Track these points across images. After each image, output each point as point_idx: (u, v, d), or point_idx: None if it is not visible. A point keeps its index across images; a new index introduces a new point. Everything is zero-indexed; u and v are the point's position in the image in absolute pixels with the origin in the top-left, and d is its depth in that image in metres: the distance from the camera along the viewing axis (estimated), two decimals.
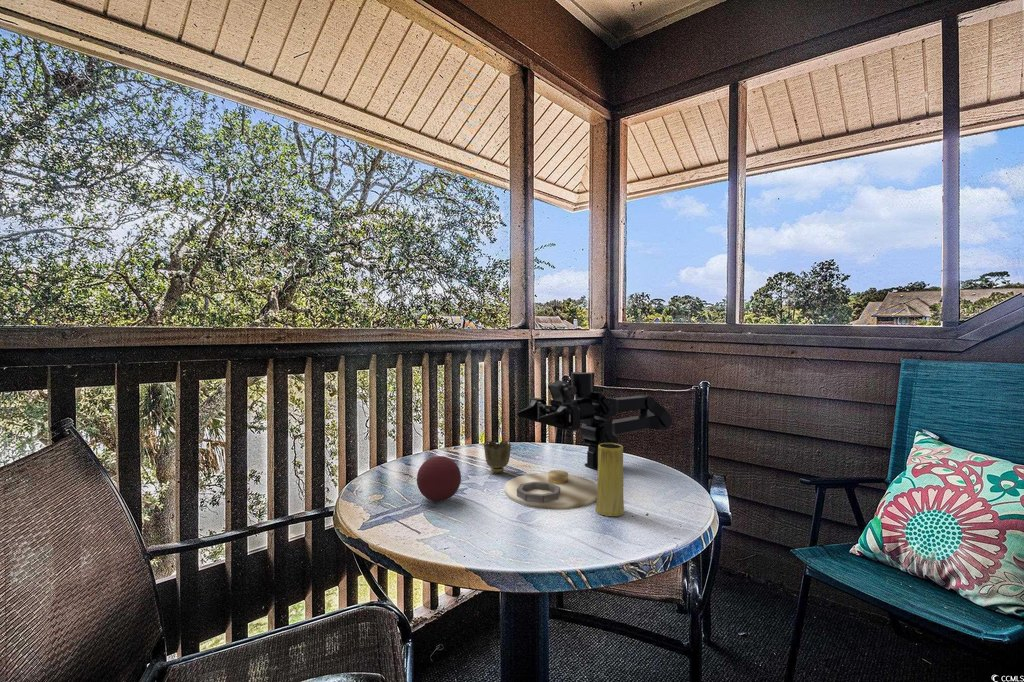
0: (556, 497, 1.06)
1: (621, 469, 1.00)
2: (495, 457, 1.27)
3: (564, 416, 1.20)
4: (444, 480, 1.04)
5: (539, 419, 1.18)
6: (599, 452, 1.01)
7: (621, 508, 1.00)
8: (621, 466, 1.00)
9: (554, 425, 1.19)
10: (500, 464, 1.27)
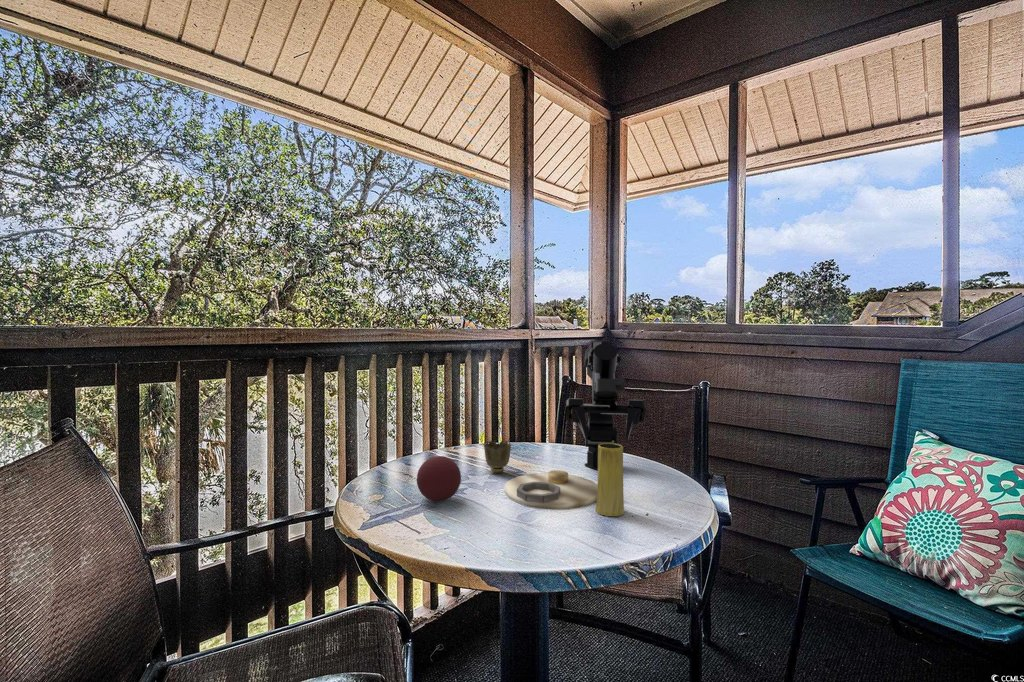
0: (556, 497, 1.06)
1: (621, 469, 1.00)
2: (495, 457, 1.27)
3: (635, 416, 1.13)
4: (444, 480, 1.04)
5: None
6: (599, 452, 1.01)
7: (621, 508, 1.00)
8: (621, 466, 1.00)
9: (631, 429, 1.13)
10: (500, 464, 1.27)
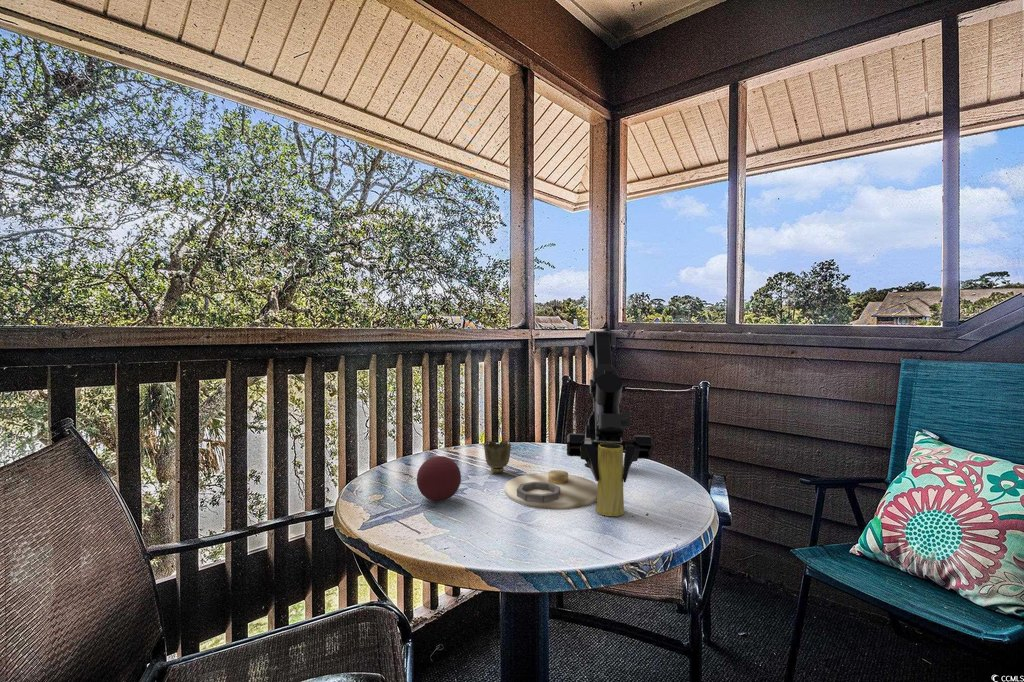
0: (556, 497, 1.06)
1: (621, 469, 1.00)
2: (495, 457, 1.27)
3: (633, 453, 1.04)
4: (444, 480, 1.04)
5: None
6: (599, 452, 1.01)
7: (621, 508, 1.00)
8: (621, 466, 1.00)
9: None
10: (500, 464, 1.27)
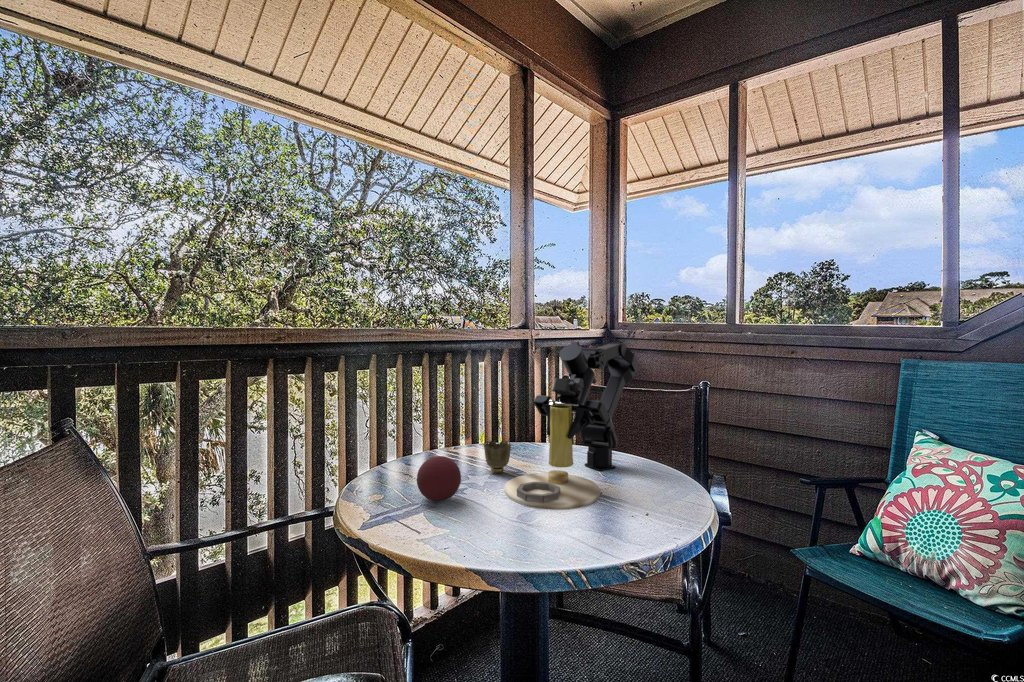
0: (556, 497, 1.06)
1: (566, 427, 1.14)
2: (495, 457, 1.27)
3: (585, 416, 1.16)
4: (444, 480, 1.04)
5: (570, 436, 1.14)
6: None
7: (565, 461, 1.14)
8: (566, 425, 1.14)
9: (581, 428, 1.16)
10: (500, 464, 1.27)
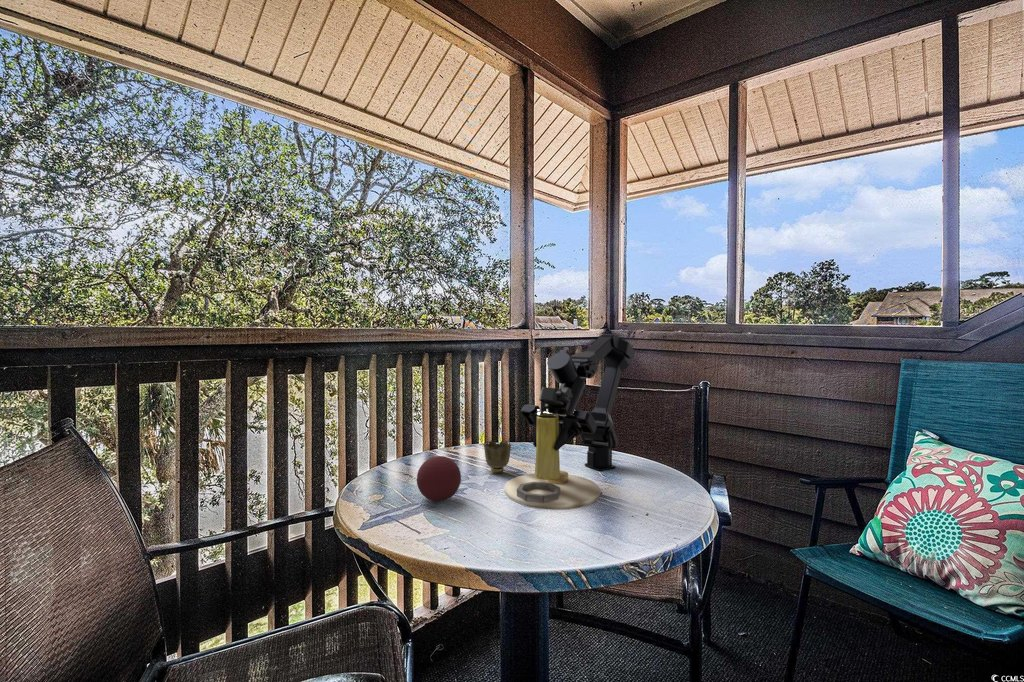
0: (556, 497, 1.06)
1: (552, 438, 1.10)
2: (495, 457, 1.27)
3: (573, 427, 1.12)
4: (444, 480, 1.04)
5: (556, 448, 1.09)
6: None
7: (551, 473, 1.10)
8: (553, 436, 1.10)
9: (569, 439, 1.12)
10: (500, 464, 1.27)
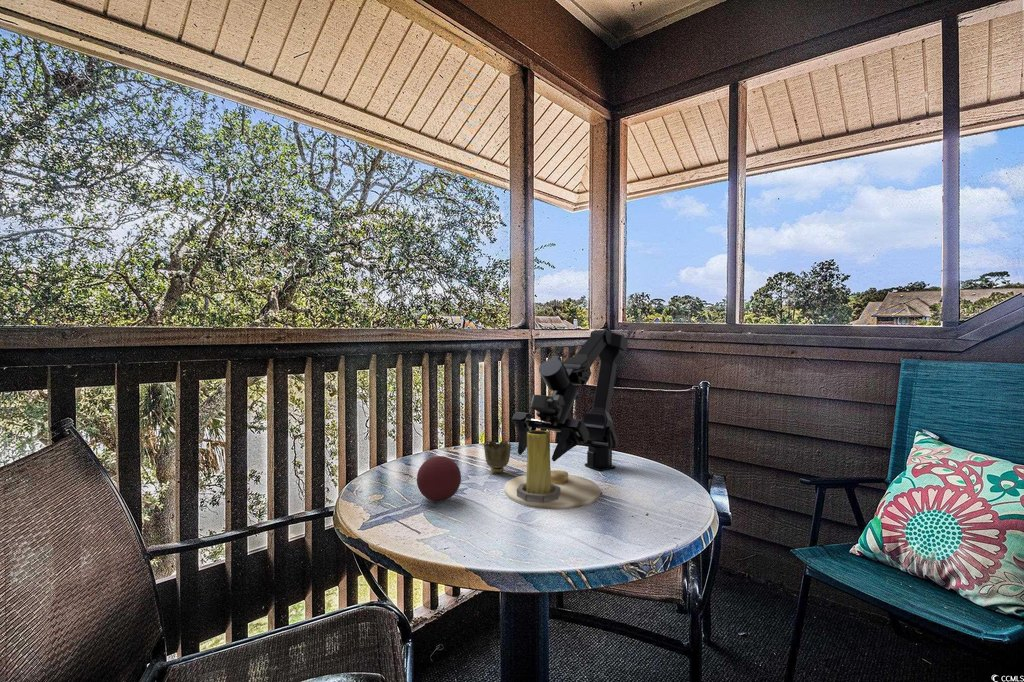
0: (556, 497, 1.06)
1: (543, 454, 1.07)
2: (495, 457, 1.27)
3: (571, 436, 1.07)
4: (444, 480, 1.04)
5: (554, 459, 1.05)
6: None
7: (543, 491, 1.07)
8: (544, 452, 1.07)
9: (567, 450, 1.08)
10: (500, 464, 1.27)
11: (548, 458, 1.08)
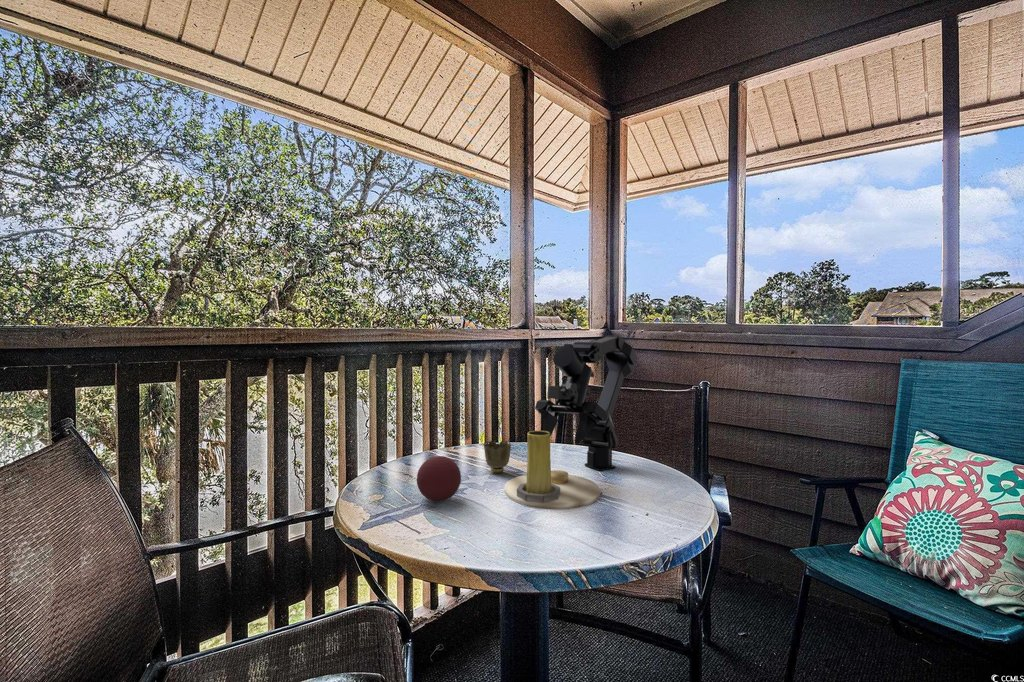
0: (556, 497, 1.06)
1: (543, 455, 1.07)
2: (495, 457, 1.27)
3: (589, 418, 1.15)
4: (444, 480, 1.04)
5: (577, 442, 1.14)
6: None
7: (543, 492, 1.07)
8: (544, 453, 1.07)
9: (588, 430, 1.16)
10: (500, 464, 1.27)
11: (548, 459, 1.08)
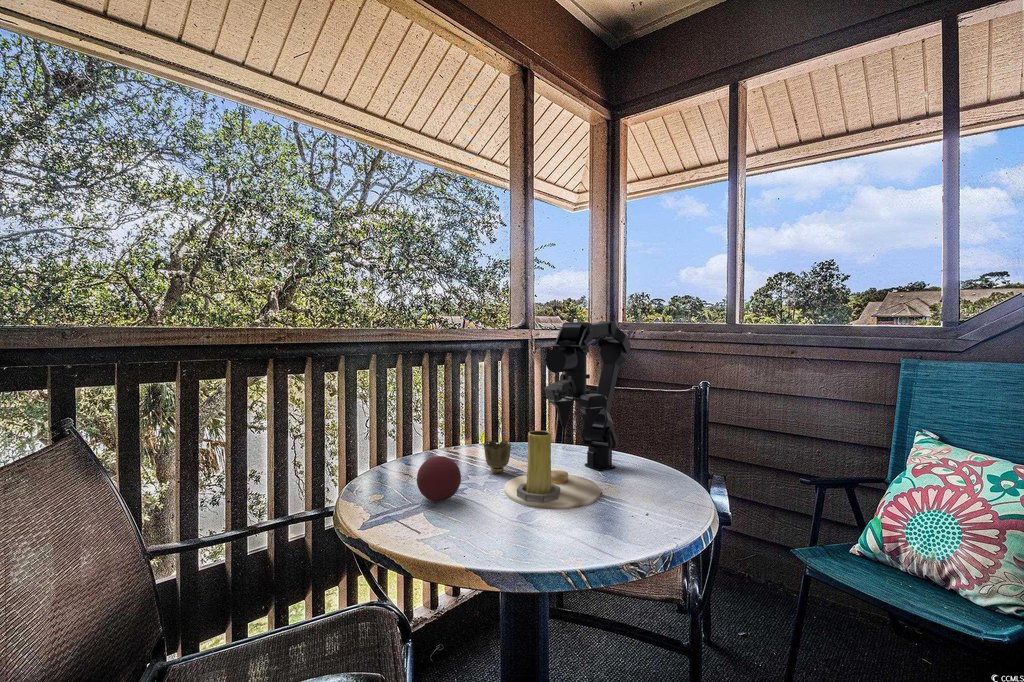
0: (556, 497, 1.06)
1: (544, 455, 1.07)
2: (495, 457, 1.27)
3: None
4: (444, 480, 1.04)
5: (586, 432, 1.19)
6: None
7: (543, 492, 1.07)
8: (545, 453, 1.07)
9: (595, 417, 1.19)
10: (500, 464, 1.27)
11: (549, 459, 1.08)
